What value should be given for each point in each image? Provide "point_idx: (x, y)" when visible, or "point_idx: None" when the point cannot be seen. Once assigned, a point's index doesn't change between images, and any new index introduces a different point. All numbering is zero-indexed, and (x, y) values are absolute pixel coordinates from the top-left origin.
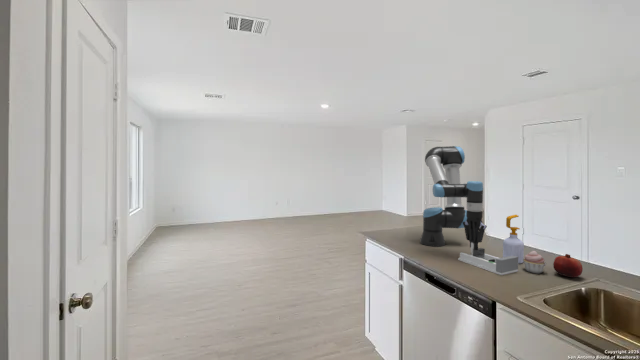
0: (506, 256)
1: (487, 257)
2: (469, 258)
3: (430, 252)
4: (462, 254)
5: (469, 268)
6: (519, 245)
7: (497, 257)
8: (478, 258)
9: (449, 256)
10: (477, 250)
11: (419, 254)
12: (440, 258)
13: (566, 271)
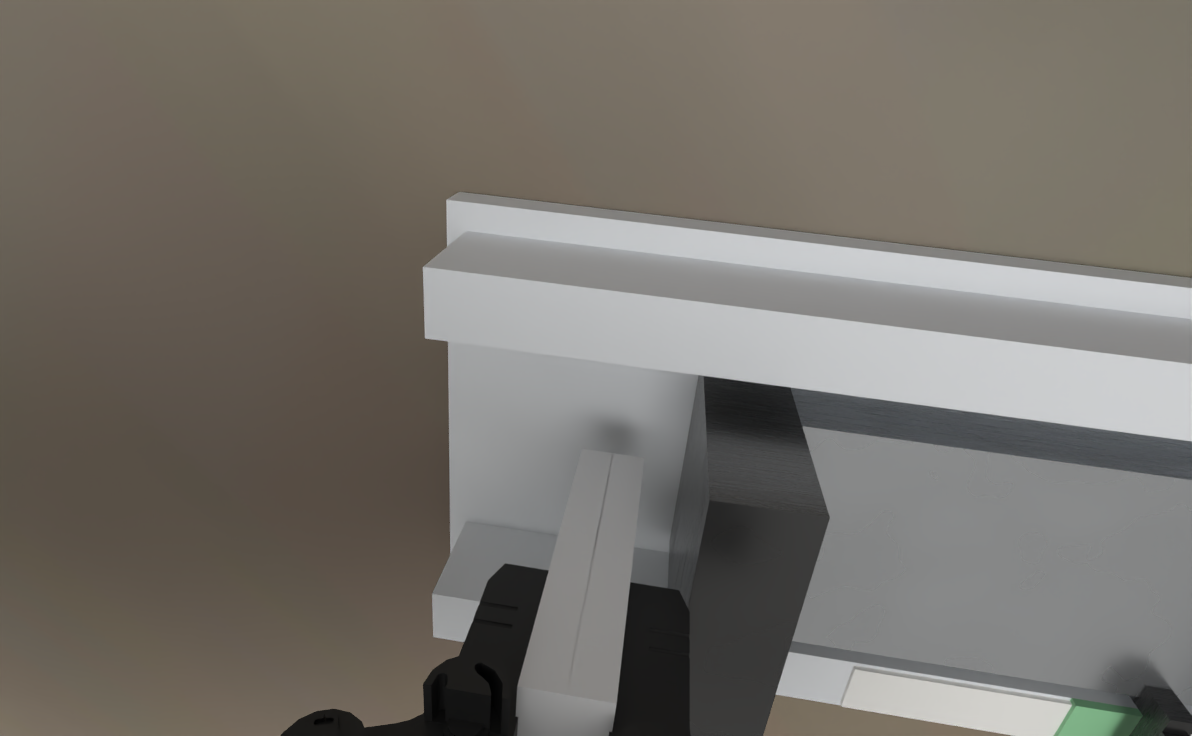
0: None
1: (956, 576)
2: None
3: (29, 555)
4: None
5: (778, 721)
6: None
7: (1120, 361)
8: (844, 706)
9: (274, 509)
10: (764, 713)
11: (94, 708)
12: (312, 661)
13: None
